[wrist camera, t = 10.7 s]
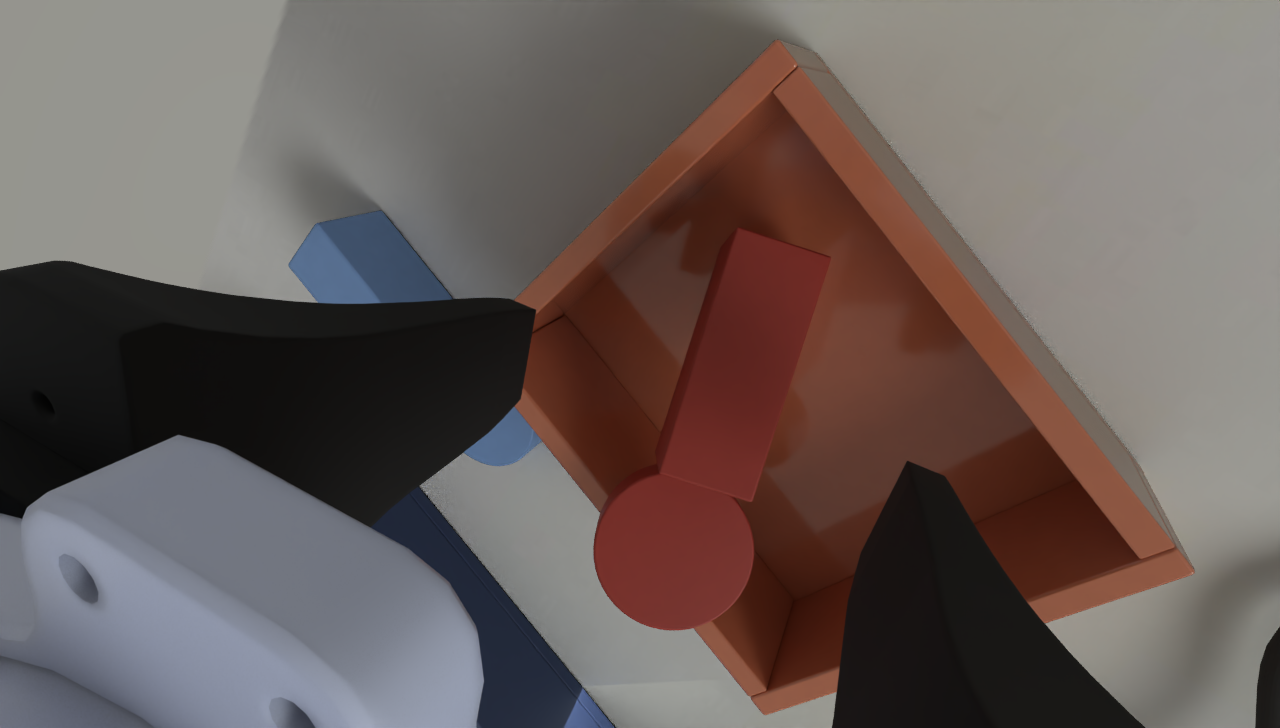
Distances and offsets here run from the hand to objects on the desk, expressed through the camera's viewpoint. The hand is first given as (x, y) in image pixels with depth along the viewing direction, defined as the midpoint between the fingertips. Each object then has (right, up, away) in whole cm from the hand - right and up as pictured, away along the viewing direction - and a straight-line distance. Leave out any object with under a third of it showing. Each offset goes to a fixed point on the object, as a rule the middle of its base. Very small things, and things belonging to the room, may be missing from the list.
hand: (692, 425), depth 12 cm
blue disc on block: (-7, +2, +9) cm, 12 cm away
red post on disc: (+1, -1, +4) cm, 4 cm away
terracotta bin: (+3, +1, +5) cm, 6 cm away
